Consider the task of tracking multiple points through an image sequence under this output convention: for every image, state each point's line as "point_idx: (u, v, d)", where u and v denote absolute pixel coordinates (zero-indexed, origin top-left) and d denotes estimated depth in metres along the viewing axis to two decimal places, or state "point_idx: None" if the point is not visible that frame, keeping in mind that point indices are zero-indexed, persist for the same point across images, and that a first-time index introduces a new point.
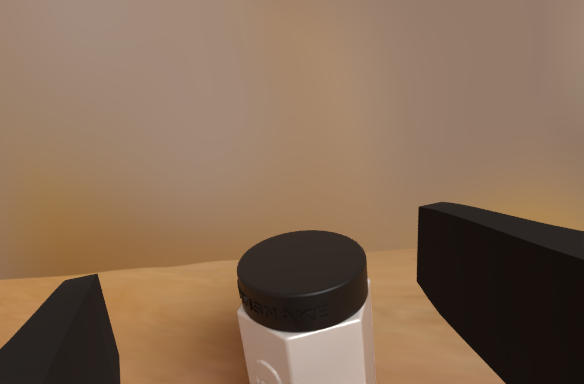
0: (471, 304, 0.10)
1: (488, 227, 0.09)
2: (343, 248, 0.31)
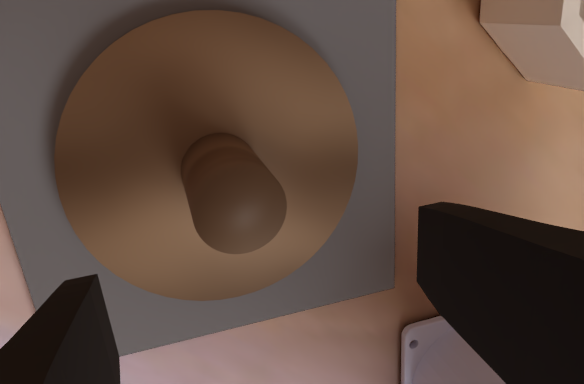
0: (471, 304, 0.10)
1: (488, 227, 0.09)
2: None
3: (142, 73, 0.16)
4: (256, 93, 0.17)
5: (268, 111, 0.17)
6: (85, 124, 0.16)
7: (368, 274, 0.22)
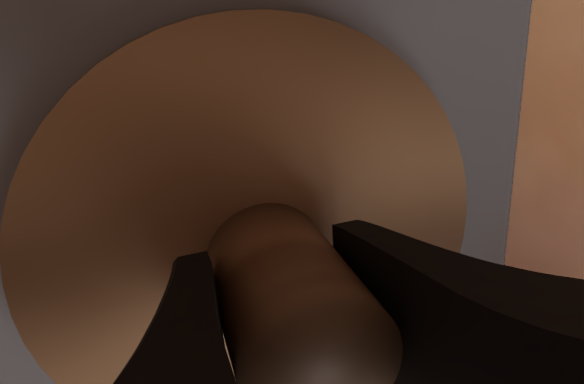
0: None
1: (384, 251, 0.08)
2: None
3: (144, 116, 0.09)
4: (324, 140, 0.11)
5: (341, 167, 0.11)
6: (50, 201, 0.09)
7: None
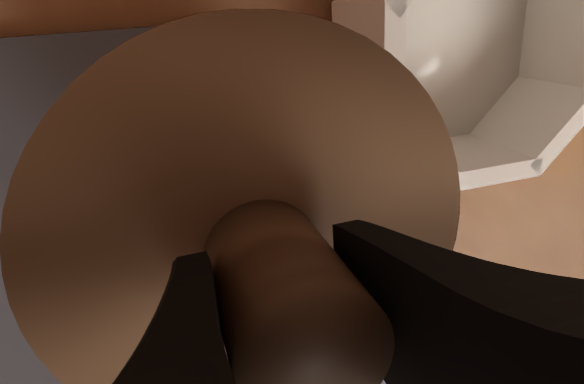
0: None
1: (384, 251, 0.08)
2: None
3: (147, 109, 0.10)
4: (322, 139, 0.11)
5: (338, 166, 0.11)
6: (51, 191, 0.10)
7: None
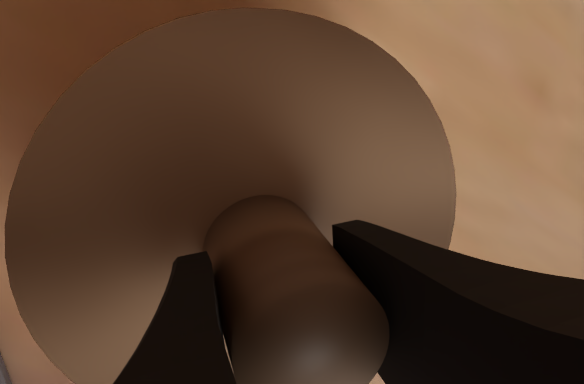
0: None
1: (384, 251, 0.08)
2: None
3: (156, 101, 0.10)
4: (325, 139, 0.11)
5: (339, 166, 0.12)
6: (59, 176, 0.10)
7: None
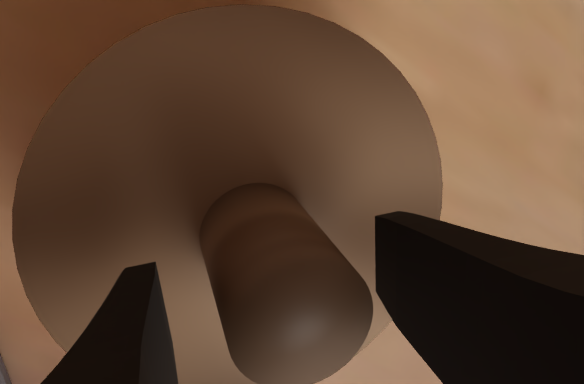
0: (423, 317, 0.10)
1: (436, 239, 0.09)
2: None
3: (155, 92, 0.10)
4: (316, 129, 0.12)
5: (330, 155, 0.12)
6: (63, 163, 0.10)
7: None
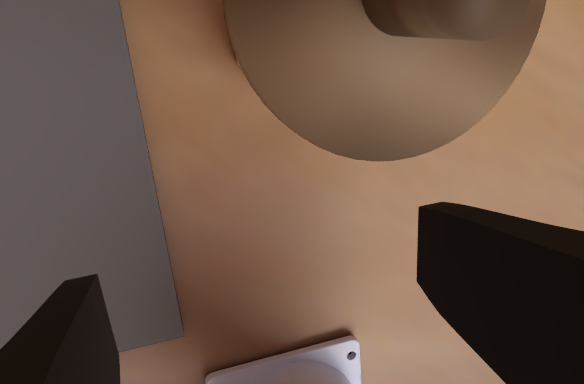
0: (471, 304, 0.10)
1: (488, 227, 0.09)
2: None
3: None
4: None
5: None
6: None
7: (149, 323, 0.21)
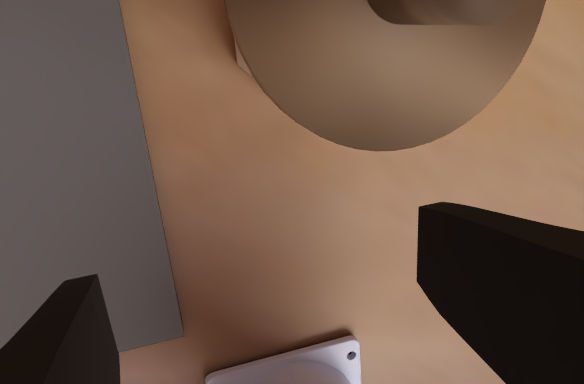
0: (471, 304, 0.10)
1: (488, 227, 0.09)
2: None
3: None
4: None
5: None
6: None
7: (149, 323, 0.21)
